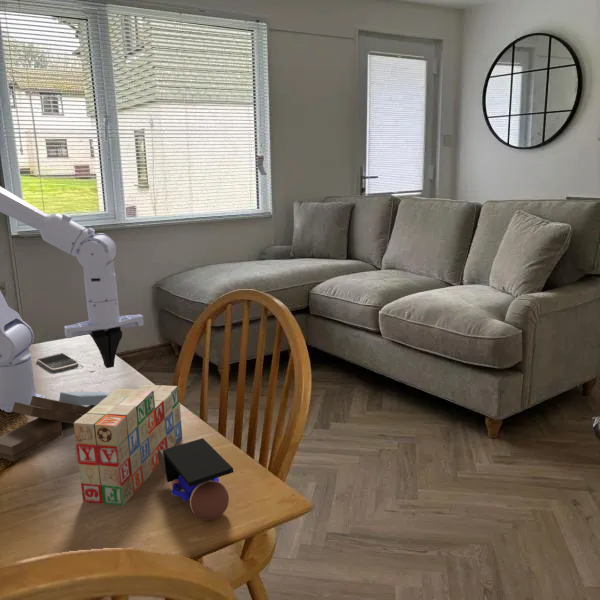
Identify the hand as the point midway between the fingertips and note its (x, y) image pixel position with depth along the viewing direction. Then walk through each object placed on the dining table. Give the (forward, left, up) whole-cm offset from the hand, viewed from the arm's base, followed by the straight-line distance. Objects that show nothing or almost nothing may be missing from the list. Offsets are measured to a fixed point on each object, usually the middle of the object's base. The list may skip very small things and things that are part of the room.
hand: (109, 366), depth 117 cm
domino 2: (+3, -15, -5) cm, 16 cm away
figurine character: (+39, -17, -7) cm, 43 cm away
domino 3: (+3, -15, -7) cm, 17 cm away
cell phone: (-28, +7, -8) cm, 30 cm away
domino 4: (+1, -8, -6) cm, 10 cm away
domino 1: (+2, -11, -6) cm, 13 cm away
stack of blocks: (+25, -15, -7) cm, 30 cm away
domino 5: (0, -1, -6) cm, 6 cm away
